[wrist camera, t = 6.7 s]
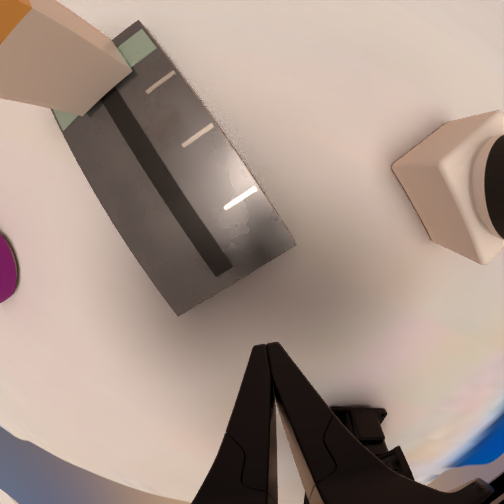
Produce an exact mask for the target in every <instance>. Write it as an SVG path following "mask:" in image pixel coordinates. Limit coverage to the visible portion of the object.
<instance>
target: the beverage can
mask: <svg viewBox="0 0 504 504" xmlns="http://www.w3.org/2000/svg"><path fill="white" fill-rule="evenodd" d="M16 281H17V264H16V260H15V256H14V254H13V251H12V249H11V247H10V245H9V244H8V242H7V241H6V240H5V239H4V238H3V236H1V235H0V303H1V302H3V301H5V300H6V299H8V298H9V297H10V296H11V295H12V294H13V293H14V290H15V288H16Z"/></svg>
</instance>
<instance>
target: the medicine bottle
mask: <svg viewBox="0 0 504 504" xmlns="http://www.w3.org/2000/svg"><path fill="white" fill-rule="evenodd" d="M392 170H393V172H394V173H395V175H396V176H397V178H398V180H399V181H400V183H401V185H402V186H403V188H404V190H405V191H406V193H407V195H408V197H409V198H410V200H411V202H412V204H413V205H414V207H415V209H416V211H417V213H418V214H419V216H420V218H421V220H422V222H423V224H424V226H425V228H426V230H427V232H428V234H429V236H430V238H431V240H432V241H433V242H435V243H437V244H439V245H441V246H443V247H445V248H448V249H450V250H452V251H454V252H456V253H458V254H460V255H462V256H465V257H467V258H469V259H471V260H473V261H475V262H477V263H479V264H481V265H486V264H487V263H488V262H489V261H490V260H491V259H492V258H493V257H494V256H495V255H496V254H497V253H498V252H499V251H500V250H501V249H502V248H503V247H504V114H503V113H502V111H499V110H497V111H492V112H488V113H483V114H479V115H475V116H471V117H466V118H462V119H458V120H454V121H450V122H447V123H445V124H444V125H443V126H441V127H440V128H439V129H438V130H436V131H435V132H434V133H432V134H431V135H430V136H429V137H427V138H426V139H425V140H423V141H422V142H421V143H420V144H418V145H417V146H416V147H414V148H413V149H412V150H410V151H409V152H408V153H406V154H405V155H404V156H403V157H401V158H400V159H399V160H397V161H396V162H395V163H394V164H393V165H392Z"/></svg>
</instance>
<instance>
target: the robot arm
mask: <svg viewBox="0 0 504 504" xmlns="http://www.w3.org/2000/svg"><path fill="white" fill-rule="evenodd" d="M266 347H267V348H266ZM267 353H268V354H267ZM273 389H274V390H273ZM274 395H275V396H274ZM275 400H276V404H277V407H278V410H279V414H280V417H281V420H282V423H283V426H284V429H285V432H286V435H287V438H288V441H289V444H290V447H291V450H292V453H293V457H294V460H295V463H296V466H297V468H298V471H299V474H300V477H301V480H302V483H303V486H304V489H305V497H304V504H504V472H502V473H501V474H499V475H498V476H496V477H495V478H494V479H492V480H491V481H490V482H488V483H486V482H485V481H483V480H481V479H480V478H476V479H474V480H471V481H469V482H468V483H465V484H464V485H461V486H459V487H457V488H455V489H453V490H450V491H448V492H441V491H438V490H436V489H433V488H431V487H428V486H425V485H423V484H421V483H418V482H416V481H415V480H414V477H413V475H412V472H411V470H410V468H409V465H408V463H407V461H406V459H405V456H404V454H403V452H402V450H401V448H400V445H399V446H397V447H395V448H394V449H392V450H390V451H388V449H387V446H386V443H385V441H384V439H385V436H384V433H383V431H382V428H381V423H382V421H383V420H384V418H385V417H386V415H387V412H386V410H385V409H361V408H344V407H331V408H329V407H328V405H327V404H326V403H325V401H324V400H323V399H322V398H321V396H320V395H319V394H318V393H317V391H316V390H315V389H314V387H313V386H312V385H311V384H310V382H309V381H308V380H307V378H306V377H305V376H304V375H303V373H302V372H301V371H300V369H299V368H298V367H297V366H296V364H295V363H294V362H293V360H292V359H291V358H290V356H289V355H288V354H287V352H286V351H285V350H284V348H283V347H282V346H281V344H280V343H279V342H272V343H268V344H267V345H265V344H260V345H255V346H254V347H253V349H252V352H251V355H250V358H249V361H248V365H247V368H246V371H245V374H244V377H243V380H242V383H241V387H240V390H239V393H238V396H237V399H236V402H235V405H234V408H233V411H232V414H231V417H230V420H229V423H228V426H227V429H226V433H225V435H224V438H223V441H222V443H221V446H220V449H219V451H218V454H217V456H216V458H215V460H214V463H213V465H212V467H211V469H210V471H209V473H208V475H207V476H206V478H205V480H204V482H203V484H202V486H201V487H200V489H199V491H198V493H197V495H196V496H195V498H194V500H193V501H192V503H191V504H278V485H277V437H276V405H275ZM333 411H334V412H333Z"/></svg>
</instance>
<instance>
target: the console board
mask: <svg viewBox="0 0 504 504" xmlns="http://www.w3.org/2000/svg"><path fill="white" fill-rule="evenodd" d="M112 41H113V43H114V44H115V46H116V47H117V49H118V50H119V52H120V53H121V55H122V56H123V58H124V59H125V61H126V62H127V64H128V65H129V66H130V68H131V69H132V72H131V73H130V74H129V75H127V76H126V77H125V78H124V79H123V80H121V81H120V82H119V83H118V84H117V85H115V86H114V87H113V88H112V89H111V90H110V91H109V92H108V93H106V94H105V95H104V96H103V97H102V98H101V99H100V100H99V101H98V102H97V103H96V104H95V105H93V106H92V107H91V108H90V109H89V110H88V111H87V112H86V113H85V114H84V115H83V116H79V115H75V114H72V113H68V112H63V111H59V110H55V109H51V110H52V112H53V115H54V117H55V119H56V121H57V123H58V125H59V127H60V129H61V131H62V133H63V135H64V137H65V139H66V141H67V143H68V145H69V147H70V149H71V151H72V153H73V155H74V157H75V158H76V160H77V162H78V164H79V166H80V168H81V170H82V171H83V173H84V175H85V177H86V179H87V180H88V182H89V184H90V186H91V187H92V189H93V191H94V193H95V194H96V196H97V198H98V199H99V201H100V203H101V204H102V206H103V208H104V209H105V211H106V213H107V214H108V216H109V217H110V219H111V221H112V222H113V224H114V225H115V227H116V229H117V230H118V232H119V233H120V235H121V236H122V238H123V239H124V241H125V243H126V244H127V246H128V247H129V249H130V250H131V252H132V253H133V255H134V256H135V258H136V259H137V260H138V262H139V263H140V265H141V266H142V268H143V269H144V271H145V272H146V273H147V275H148V276H149V278H150V279H151V281H152V282H153V283H154V285H155V286H156V288H157V289H158V290H159V292H160V293H161V294H162V296H163V297H164V298H165V300H166V301H167V302H168V304H169V305H170V306H171V308H172V309H173V310H174V312H175V313H176V314H177V316H179V315H181V314H183V313H185V312H186V311H188V310H190V309H191V308H193V307H195V306H196V305H198V304H200V303H201V302H203V301H205V300H206V299H208V298H210V297H211V296H213V295H215V294H216V293H218V292H220V291H221V290H223V289H225V288H226V287H228V286H230V285H231V284H233V283H235V282H236V281H238V280H240V279H241V278H243V277H245V276H246V275H248V274H249V273H251V272H253V271H254V270H256V269H258V268H259V267H261V266H263V265H264V264H266V263H267V262H269V261H271V260H272V259H274V258H276V257H277V256H279V255H281V254H282V253H284V252H285V251H287V250H289V249H290V248H292V247H293V246H295V245H296V243H295V240H294V238H293V237H292V235H291V234H290V232H289V231H288V229H287V227H286V226H285V224H284V223H283V221H282V220H281V218H280V216H279V215H278V213H277V212H276V210H275V209H274V207H273V206H272V204H271V203H270V201H269V199H268V198H267V196H266V195H265V193H264V192H263V190H262V189H261V187H260V186H259V184H258V183H257V181H256V180H255V178H254V177H253V175H252V174H251V172H250V171H249V169H248V168H247V166H246V165H245V163H244V162H243V160H242V159H241V157H240V156H239V155H238V153H237V152H236V150H235V149H234V147H233V146H232V144H231V143H230V141H229V140H228V139H227V137H226V136H225V134H224V133H223V131H222V130H221V128H220V127H219V126H218V124H217V123H216V121H215V120H214V119H213V117H212V116H211V114H210V113H209V111H208V110H207V109H206V107H205V106H204V104H203V103H202V102H201V100H200V99H199V98H198V96H197V95H196V93H195V92H194V91H193V89H192V88H191V87H190V85H189V84H188V82H187V81H186V80H185V78H184V77H183V76H182V74H181V73H180V72H179V70H178V69H177V68H176V66H175V65H174V64H173V62H172V61H171V60H170V58H169V57H168V56H167V54H166V53H165V52H164V51H163V49H162V48H161V47H160V45H159V44H158V43H157V41H156V40H155V39H154V38H153V36H152V35H151V34H150V32H149V31H148V30H147V29H146V28H145V26H144V25H143V24H142V23H141V22H140V21H139V20H138V21H136V22H135V23H134V24H132V25H131V26H130V27H128V28H127V29H126V30H124V31H123V32H122V33H120V34H119V35H118V36H117V37H115V38H114V39H113V40H112Z"/></svg>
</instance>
